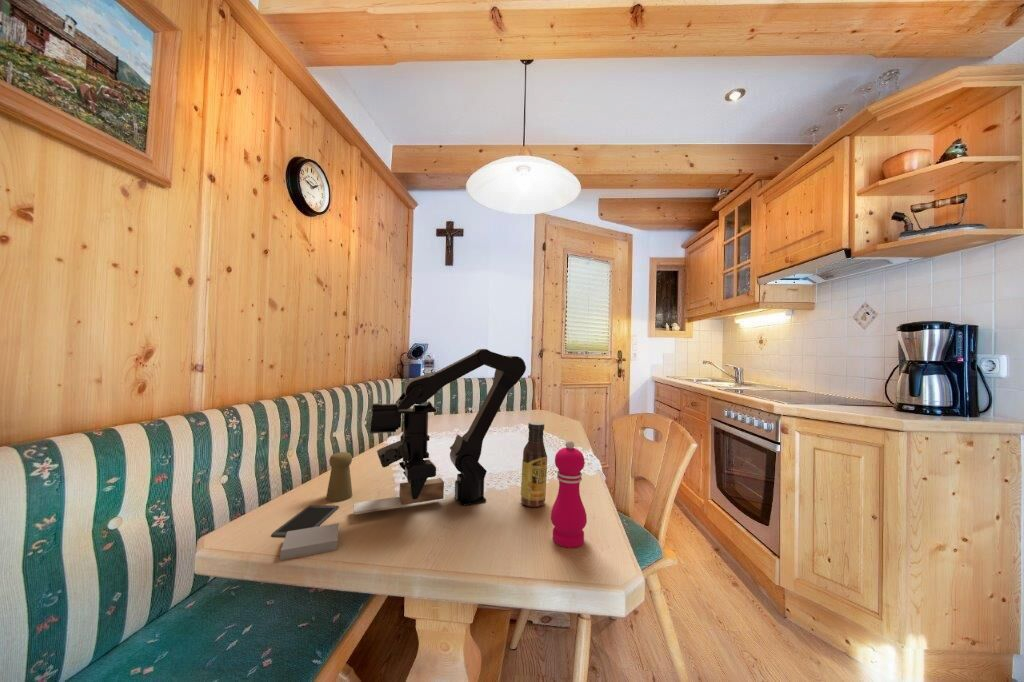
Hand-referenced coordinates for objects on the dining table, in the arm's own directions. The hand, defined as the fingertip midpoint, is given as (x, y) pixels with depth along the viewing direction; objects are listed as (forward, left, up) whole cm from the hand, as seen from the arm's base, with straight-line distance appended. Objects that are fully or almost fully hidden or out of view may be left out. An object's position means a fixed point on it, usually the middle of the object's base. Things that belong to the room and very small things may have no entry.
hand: (413, 496), depth 84 cm
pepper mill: (-26, +27, -3) cm, 38 cm away
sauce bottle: (-28, +9, -3) cm, 30 cm away
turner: (+3, 0, -1) cm, 3 cm away
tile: (+16, +9, -2) cm, 19 cm away
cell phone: (+22, -2, -3) cm, 22 cm away
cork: (+16, -13, -3) cm, 21 cm away
